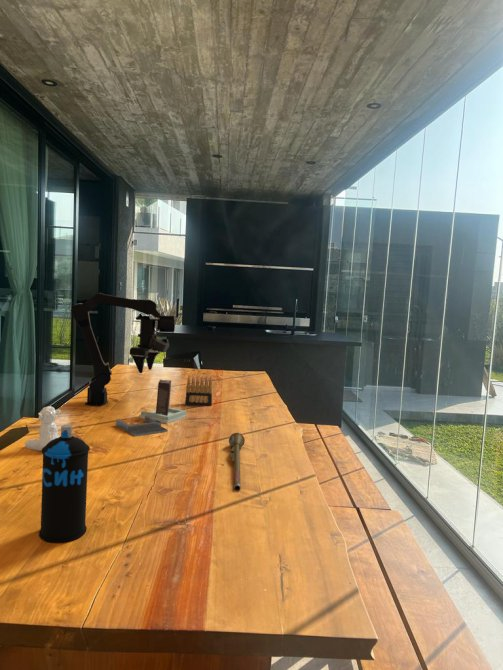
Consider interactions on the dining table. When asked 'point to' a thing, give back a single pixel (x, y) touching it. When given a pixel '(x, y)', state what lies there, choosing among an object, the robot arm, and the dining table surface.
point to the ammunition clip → (199, 392)
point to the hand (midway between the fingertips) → (145, 371)
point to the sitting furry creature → (45, 429)
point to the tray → (172, 416)
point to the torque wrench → (236, 456)
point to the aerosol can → (64, 488)
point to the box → (163, 397)
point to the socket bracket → (142, 427)
